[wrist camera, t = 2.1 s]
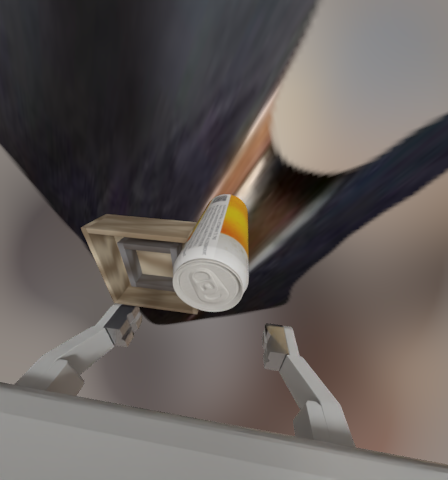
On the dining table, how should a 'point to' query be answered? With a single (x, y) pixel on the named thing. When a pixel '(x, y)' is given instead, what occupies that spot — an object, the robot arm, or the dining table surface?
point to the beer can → (215, 257)
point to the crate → (139, 258)
